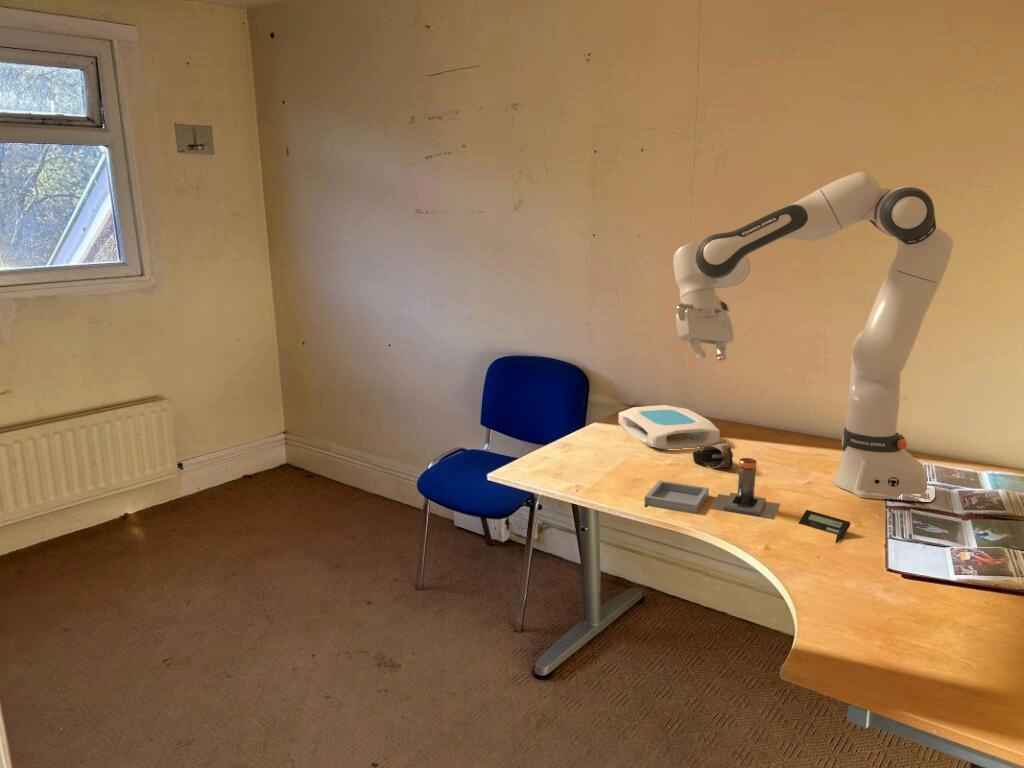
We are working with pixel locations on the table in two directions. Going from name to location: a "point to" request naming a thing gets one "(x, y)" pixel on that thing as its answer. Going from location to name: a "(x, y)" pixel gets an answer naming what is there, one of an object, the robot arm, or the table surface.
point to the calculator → (825, 523)
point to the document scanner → (668, 426)
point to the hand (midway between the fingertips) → (711, 359)
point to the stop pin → (746, 481)
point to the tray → (677, 496)
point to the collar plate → (757, 510)
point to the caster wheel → (715, 455)
